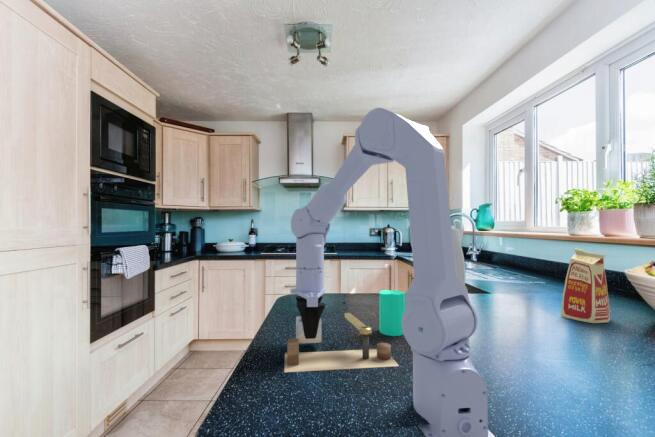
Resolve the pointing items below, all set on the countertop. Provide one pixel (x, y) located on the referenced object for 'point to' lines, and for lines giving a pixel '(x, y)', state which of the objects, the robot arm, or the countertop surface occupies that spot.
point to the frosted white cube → (300, 332)
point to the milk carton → (586, 289)
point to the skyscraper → (458, 251)
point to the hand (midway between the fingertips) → (309, 334)
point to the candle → (391, 312)
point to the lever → (358, 324)
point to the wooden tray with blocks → (338, 358)
